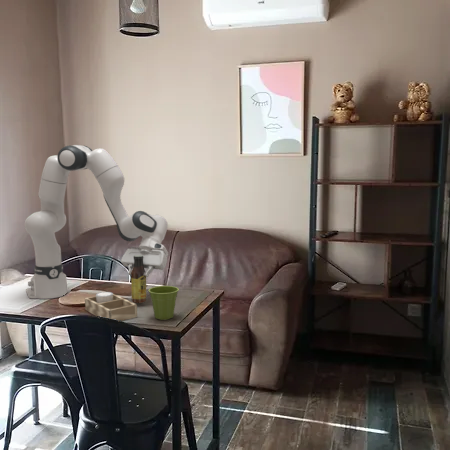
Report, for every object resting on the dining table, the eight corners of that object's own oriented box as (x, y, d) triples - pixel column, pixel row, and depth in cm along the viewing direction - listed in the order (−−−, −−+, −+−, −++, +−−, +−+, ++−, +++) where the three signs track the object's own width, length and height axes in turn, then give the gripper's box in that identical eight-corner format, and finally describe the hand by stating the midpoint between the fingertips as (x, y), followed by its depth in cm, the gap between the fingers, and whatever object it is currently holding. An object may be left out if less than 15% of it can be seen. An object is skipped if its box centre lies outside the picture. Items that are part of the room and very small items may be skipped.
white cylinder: (109, 313, 203) (108, 296, 202) (93, 312, 204) (92, 295, 203) (116, 308, 210) (115, 292, 209) (101, 307, 211) (100, 291, 210)
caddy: (85, 309, 208) (84, 298, 207) (112, 304, 215) (111, 293, 214) (109, 323, 191) (108, 310, 190) (137, 317, 198) (137, 304, 197)
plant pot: (185, 318, 196) (184, 290, 195) (157, 324, 189) (157, 295, 188) (170, 310, 206) (169, 283, 204) (143, 316, 199) (142, 288, 197)
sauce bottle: (143, 304, 211) (142, 257, 208) (129, 303, 212) (128, 257, 209) (148, 299, 217) (147, 254, 214) (134, 299, 218) (133, 254, 215)
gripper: (125, 242, 221) (113, 269, 213) (167, 245, 214) (156, 273, 206) (131, 250, 226) (119, 277, 218) (172, 254, 218) (161, 281, 211)
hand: (137, 275), depth 212 cm, fingers closed on sauce bottle, 6 cm apart
